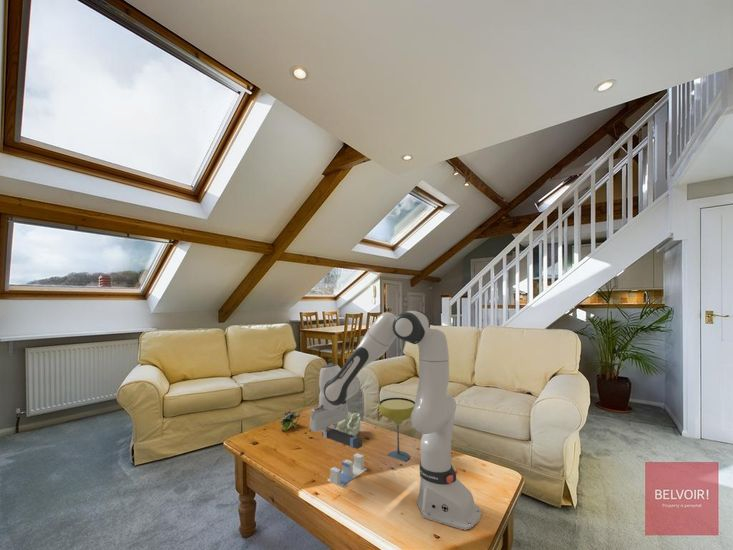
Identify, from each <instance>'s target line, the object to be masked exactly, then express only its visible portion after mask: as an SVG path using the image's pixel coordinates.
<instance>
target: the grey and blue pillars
mask: <svg viewBox="0 0 733 550" xmlns="http://www.w3.org/2000/svg"><path fill="white" fill-rule="evenodd" d="M352 458H353V461H352V460H350V459H345V460H343V461H341V465H342V469H341V468H339V467H337V466H335V465H334V466H333V467H331V468H330V469H329V478H328V479H327V481H328V482H330V483H332V484H334V485H336V486H339V487H340V488H342V487H343V486H345V485H347V484H349V483H350V482H351V481H354V479H355V478H357V477H358V476H359V475H361V474H362V473H364V472H366V471H367V470H368V468H366V467H365V455H362V454H360V453H354V454H353V455H352Z"/></svg>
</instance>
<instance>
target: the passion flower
mask: <svg viewBox="0 0 733 550" xmlns="http://www.w3.org/2000/svg"><path fill="white" fill-rule="evenodd" d="M300 416H301V414H300V413H298V412H297V413H296V412H294V411H291V410H289V411H287V412H286V411H285V413H284V416H283V417H282V418H281V420H280V421H279V423H280V425H282V427H281V431H282V430H283V431H285V430H286V431H287V430H288V429H290V428H291V427H292V426H293V427H294V430H295V429H297V427H298V426H297V423H298V420H299V418H300ZM296 419H297V420H296ZM294 420H296V422H294ZM283 431H282V432H283Z"/></svg>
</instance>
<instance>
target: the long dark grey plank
mask: <svg viewBox="0 0 733 550" xmlns="http://www.w3.org/2000/svg"><path fill="white" fill-rule="evenodd" d="M326 432H328V433H329V434H328V435H329V436H328V437H326V439H329V440H332V441H335V442H337V443H340V444H343V445H344V446H345V445H346V446H348V447H350V448H352V449H356V450H358V449H360V448H361V447H363V438H361V437H359V436H358V435H357V436H353V435H350V434H347V433H344V432H341V431H338V430H335V429H332V427H330V426H329V427H327V430H326ZM321 434H322V435H321V436H322V437H323V432H322V431H321Z"/></svg>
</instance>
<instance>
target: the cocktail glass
mask: <svg viewBox="0 0 733 550" xmlns="http://www.w3.org/2000/svg"><path fill="white" fill-rule="evenodd" d="M414 405H415V401H414V400H412V399H409V398H405V397H388V398H385V399H381V400H380V401H379V403H378V410H379V411H378V412H379V413H380V414H381V416H383V417H384V418H386V419H388V420H391V421H392V422H393V423H394V425H396V427H397V431H396V432H397V434H396V435H397V437H396V438H397V439H396V440H397V442H396V443H397V446H396V447H397V448H396V450H393V451H390V452H388V453H387V456H388V457H391V458H394V459H396V460H399V461H401V462H404V461H405V462H407V461H409V460H410V458H411V456H410V454H409V453H408V452H406V451H403V450H400V438H399V437H400V436H399V435H400V433H399V430H400V428H399V427H400V425H401V424H402V422H403V421H406V420H409V419H411V413H412V411H413V408H414ZM408 459H409V460H408Z"/></svg>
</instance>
